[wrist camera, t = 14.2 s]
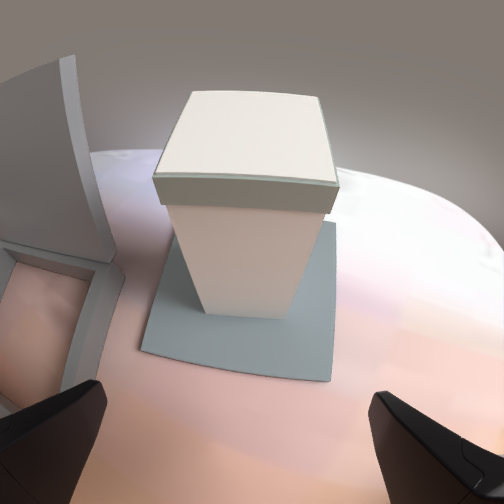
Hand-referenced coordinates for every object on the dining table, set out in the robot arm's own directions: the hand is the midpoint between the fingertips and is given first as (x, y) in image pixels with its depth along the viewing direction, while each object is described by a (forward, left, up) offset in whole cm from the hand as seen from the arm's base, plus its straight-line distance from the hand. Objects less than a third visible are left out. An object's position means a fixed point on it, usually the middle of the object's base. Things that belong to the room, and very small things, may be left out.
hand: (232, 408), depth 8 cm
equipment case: (+2, +17, -9) cm, 19 cm away
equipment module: (+8, +1, -8) cm, 12 cm away
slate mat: (+8, +1, -9) cm, 12 cm away
